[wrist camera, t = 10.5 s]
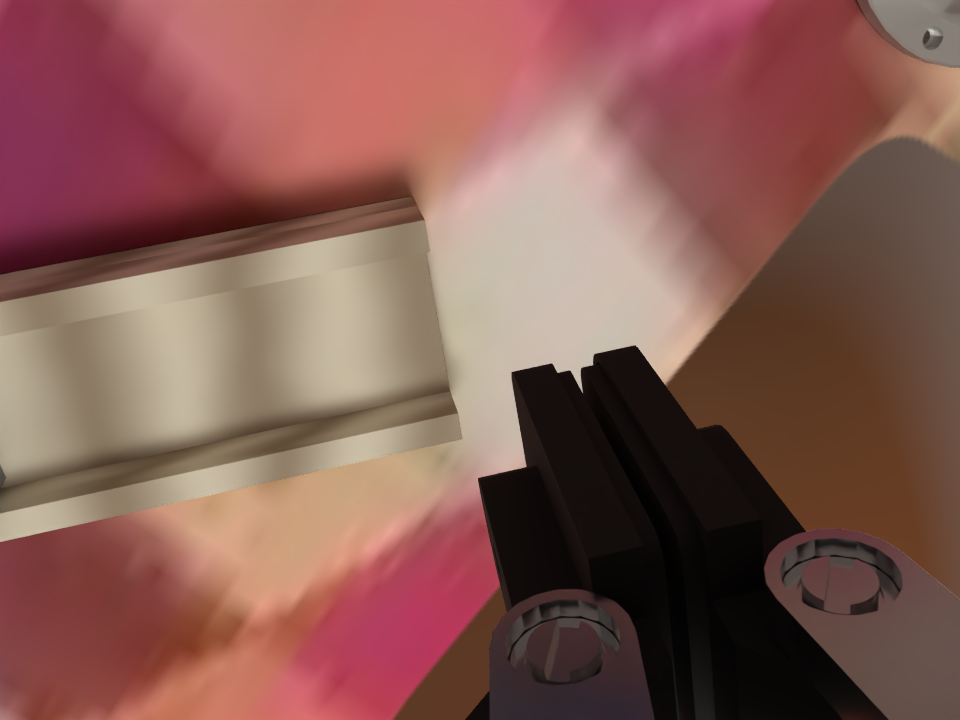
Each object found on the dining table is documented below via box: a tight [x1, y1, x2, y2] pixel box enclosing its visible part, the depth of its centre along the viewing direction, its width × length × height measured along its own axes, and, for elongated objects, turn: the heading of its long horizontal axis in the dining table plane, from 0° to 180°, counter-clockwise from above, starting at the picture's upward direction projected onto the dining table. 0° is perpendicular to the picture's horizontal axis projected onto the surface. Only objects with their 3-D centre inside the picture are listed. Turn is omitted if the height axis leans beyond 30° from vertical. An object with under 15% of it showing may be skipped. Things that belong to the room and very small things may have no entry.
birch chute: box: [0, 196, 462, 542], centre depth 34 cm, size 26×9×4 cm, turn 98°
